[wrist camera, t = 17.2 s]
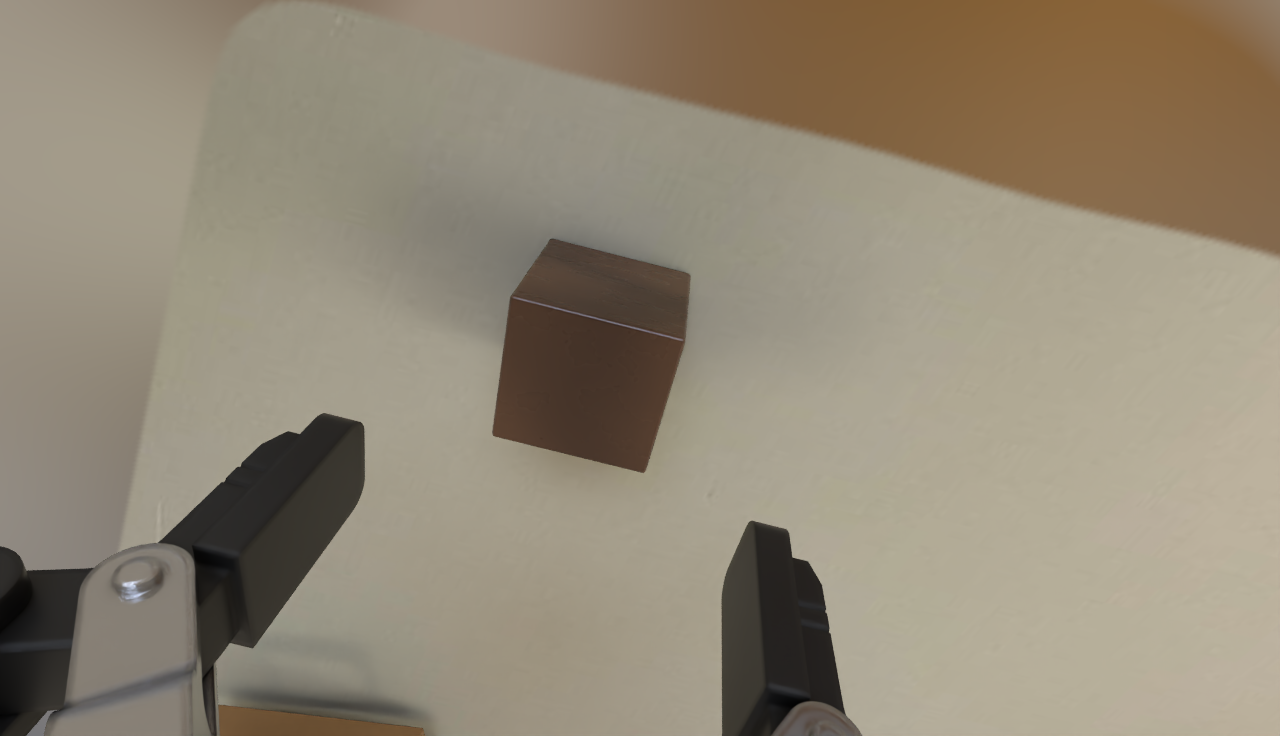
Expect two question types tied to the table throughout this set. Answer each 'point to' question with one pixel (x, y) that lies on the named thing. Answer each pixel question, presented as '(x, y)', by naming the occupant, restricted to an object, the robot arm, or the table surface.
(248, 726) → the drawer
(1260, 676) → the table surface
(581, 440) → the block
